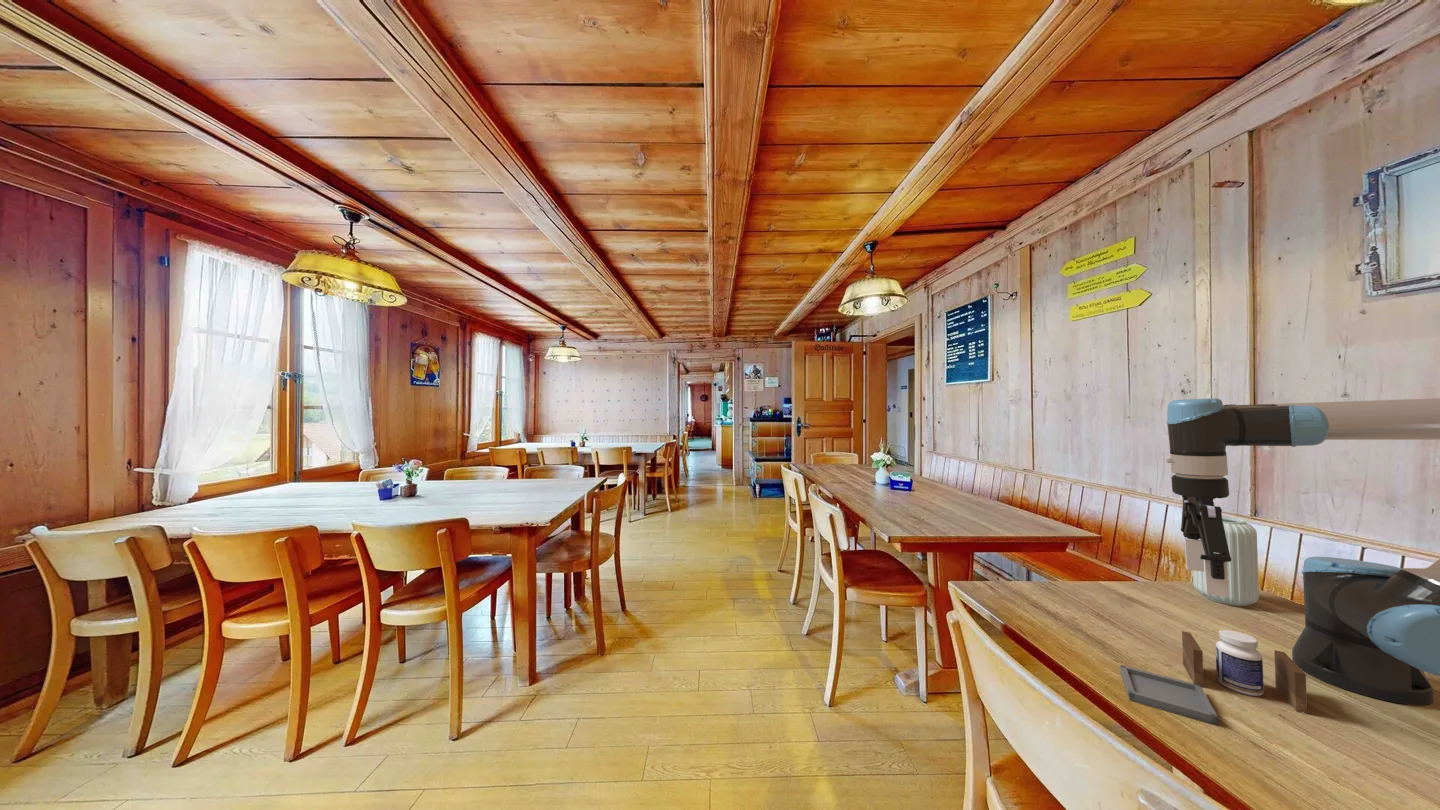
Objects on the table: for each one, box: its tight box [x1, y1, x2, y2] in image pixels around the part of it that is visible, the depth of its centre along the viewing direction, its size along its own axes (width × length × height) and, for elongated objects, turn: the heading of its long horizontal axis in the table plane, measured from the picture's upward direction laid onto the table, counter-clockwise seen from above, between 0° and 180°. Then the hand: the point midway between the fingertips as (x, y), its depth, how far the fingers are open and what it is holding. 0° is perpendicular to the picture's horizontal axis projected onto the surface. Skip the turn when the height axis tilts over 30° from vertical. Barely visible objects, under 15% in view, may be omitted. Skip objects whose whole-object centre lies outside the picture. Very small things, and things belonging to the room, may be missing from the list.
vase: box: [1192, 515, 1260, 607], centre depth 115 cm, size 12×12×22 cm
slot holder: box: [1181, 630, 1308, 714], centre depth 81 cm, size 13×8×7 cm, turn 53°
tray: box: [1120, 664, 1219, 727], centre depth 79 cm, size 11×10×2 cm
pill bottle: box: [1215, 629, 1265, 697], centre depth 81 cm, size 6×6×10 cm
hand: (1206, 581), depth 84 cm, fingers open, 13 cm apart
